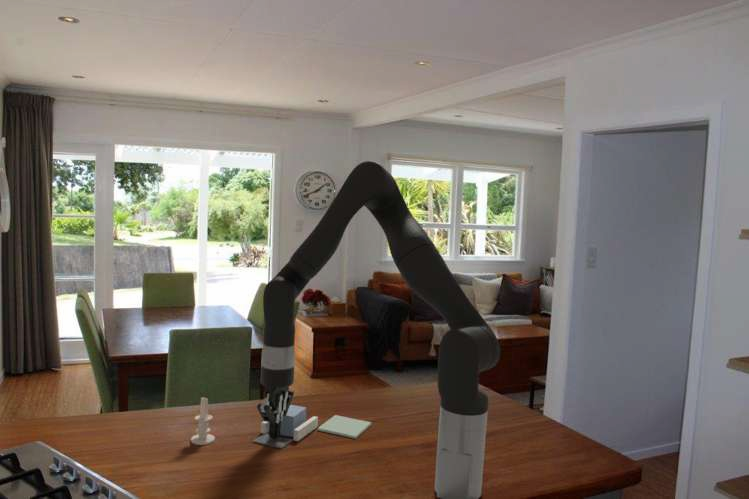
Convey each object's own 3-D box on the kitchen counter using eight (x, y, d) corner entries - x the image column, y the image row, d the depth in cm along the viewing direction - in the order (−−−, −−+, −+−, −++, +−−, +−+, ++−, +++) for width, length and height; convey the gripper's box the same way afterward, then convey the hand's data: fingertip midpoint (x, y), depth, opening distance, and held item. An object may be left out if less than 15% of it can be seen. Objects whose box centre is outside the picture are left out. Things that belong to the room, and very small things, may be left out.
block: (292, 437, 143) (293, 416, 142) (273, 433, 144) (274, 413, 144) (305, 427, 149) (306, 407, 149) (287, 423, 151) (288, 404, 151)
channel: (286, 450, 135) (286, 439, 135) (248, 441, 139) (248, 430, 139) (317, 426, 150) (318, 416, 150) (282, 419, 153) (282, 409, 153)
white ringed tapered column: (204, 433, 142) (205, 390, 141) (219, 440, 139) (221, 395, 138) (185, 440, 137) (187, 395, 136) (201, 447, 134) (202, 401, 133)
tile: (355, 438, 144) (355, 436, 144) (317, 430, 148) (317, 428, 148) (371, 424, 153) (371, 422, 153) (335, 417, 157) (335, 414, 157)
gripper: (277, 373, 131) (274, 451, 133) (306, 359, 143) (302, 430, 145) (247, 367, 134) (244, 444, 135) (278, 354, 146) (274, 424, 148)
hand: (274, 436), depth 140 cm, fingers closed
